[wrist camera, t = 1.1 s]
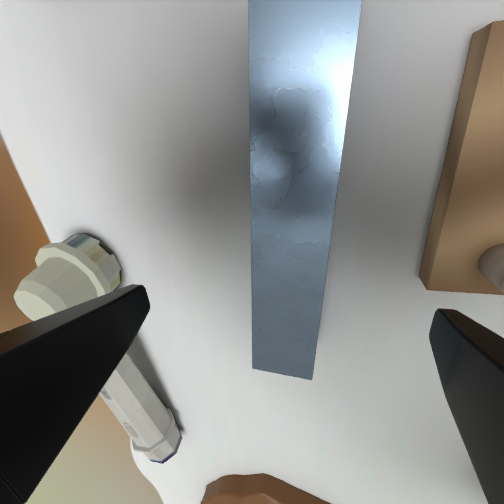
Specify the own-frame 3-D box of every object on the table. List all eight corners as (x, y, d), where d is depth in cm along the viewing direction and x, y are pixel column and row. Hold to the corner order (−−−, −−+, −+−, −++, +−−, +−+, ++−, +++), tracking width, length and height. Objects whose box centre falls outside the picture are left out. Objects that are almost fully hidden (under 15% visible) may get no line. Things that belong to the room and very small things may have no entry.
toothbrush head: (134, 461, 29) (-40, 285, 16) (164, 400, 34) (50, 232, 21) (177, 470, 27) (21, 284, 15) (200, 405, 33) (102, 227, 20)
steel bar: (313, 336, 21) (312, 380, 17) (263, 328, 22) (252, 368, 18) (355, 3, 12) (368, -47, 8) (268, 11, 13) (248, -30, 9)
